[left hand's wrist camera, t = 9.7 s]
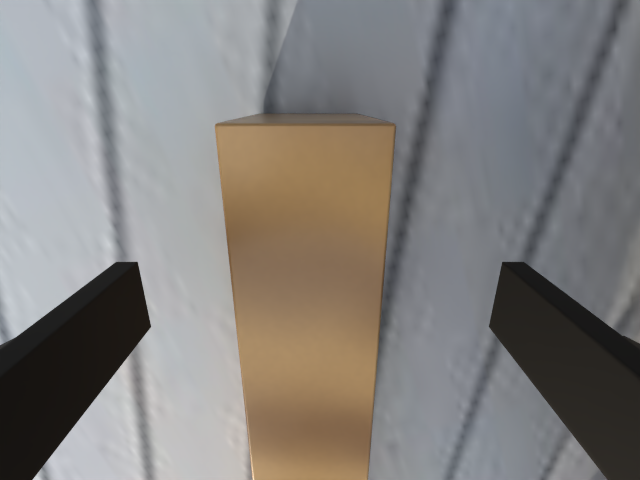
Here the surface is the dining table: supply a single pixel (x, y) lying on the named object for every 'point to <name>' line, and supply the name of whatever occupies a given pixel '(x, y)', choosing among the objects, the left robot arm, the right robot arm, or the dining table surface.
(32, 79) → the dining table surface
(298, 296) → the bar
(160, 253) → the dining table surface
